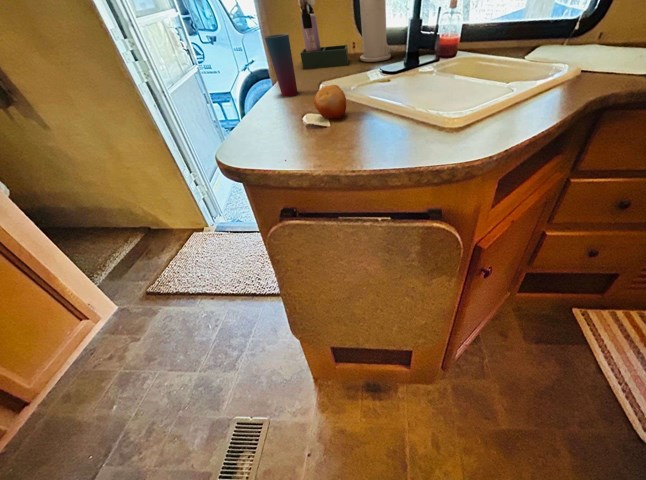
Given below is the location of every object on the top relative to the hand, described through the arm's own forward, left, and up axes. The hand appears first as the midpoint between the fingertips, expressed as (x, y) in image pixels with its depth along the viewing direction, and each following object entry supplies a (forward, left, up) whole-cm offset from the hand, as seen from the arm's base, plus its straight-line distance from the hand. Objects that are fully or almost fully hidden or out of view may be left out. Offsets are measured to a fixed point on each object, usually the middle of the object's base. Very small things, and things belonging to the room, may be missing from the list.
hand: (309, 26), depth 118 cm
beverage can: (0, 0, -12) cm, 12 cm away
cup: (+4, +39, -13) cm, 41 cm away
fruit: (-12, +64, -13) cm, 66 cm away
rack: (-4, 0, -13) cm, 13 cm away
